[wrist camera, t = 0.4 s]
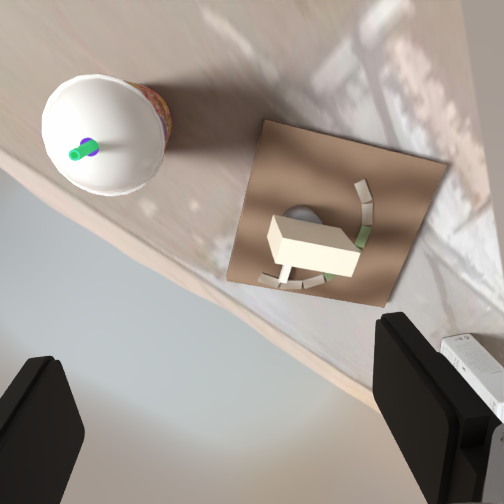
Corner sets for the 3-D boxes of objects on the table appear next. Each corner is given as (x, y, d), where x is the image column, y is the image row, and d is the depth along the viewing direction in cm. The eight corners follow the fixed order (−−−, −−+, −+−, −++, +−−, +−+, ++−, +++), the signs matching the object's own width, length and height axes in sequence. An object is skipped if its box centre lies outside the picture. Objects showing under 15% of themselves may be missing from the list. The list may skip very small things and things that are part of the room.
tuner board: (263, 118, 40) (265, 120, 39) (439, 162, 44) (448, 165, 42) (226, 275, 48) (226, 282, 46) (379, 301, 51) (385, 308, 50)
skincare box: (440, 337, 55) (496, 402, 44) (470, 331, 55) (534, 395, 44) (438, 370, 57) (491, 439, 46) (468, 364, 57) (527, 432, 46)
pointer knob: (271, 198, 42) (285, 228, 34) (335, 212, 44) (364, 244, 35) (251, 274, 46) (259, 317, 38) (311, 284, 47) (331, 329, 39)
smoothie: (175, 167, 42) (143, 236, 24) (95, 152, 40) (-4, 212, 22) (186, 85, 38) (159, 92, 20) (100, 66, 37) (-12, 55, 19)
